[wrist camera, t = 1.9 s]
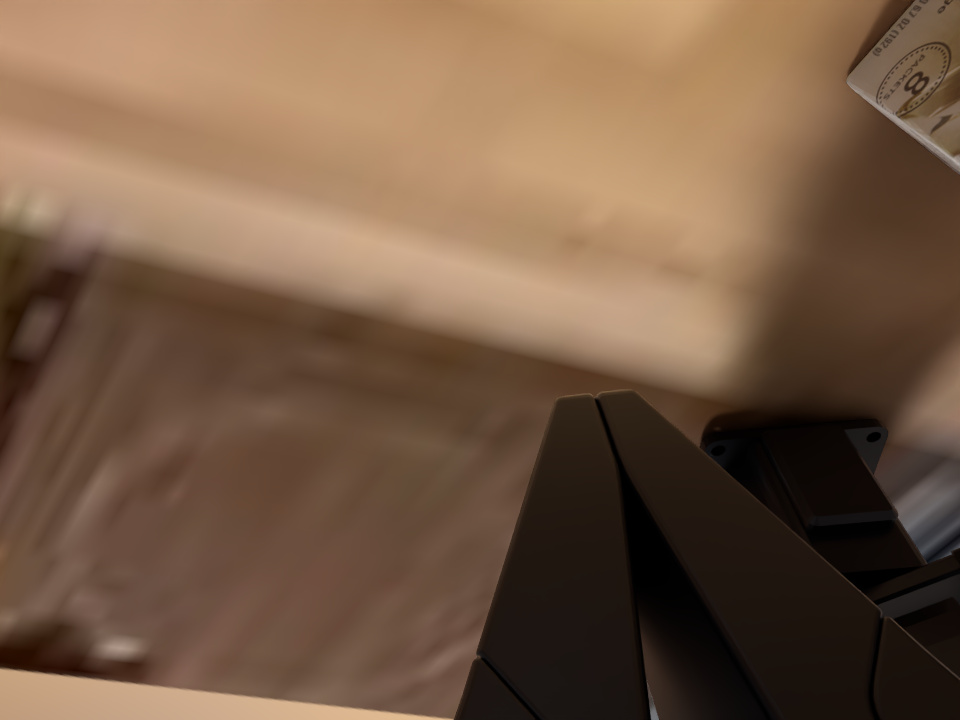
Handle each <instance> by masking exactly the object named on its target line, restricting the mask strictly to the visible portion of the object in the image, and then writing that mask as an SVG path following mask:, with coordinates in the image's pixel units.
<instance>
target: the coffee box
mask: <svg viewBox="0 0 960 720" xmlns="http://www.w3.org/2000/svg"><path fill="white" fill-rule="evenodd" d="M847 84H848V85H849V86H850V87H851V88H852V89H853V90H854V91H855V92H856V93H858V94H859V95H860V96H861V97H863V98H864V99H865V100H866V101H868V102H869V103H870V104H871V105H873V106H874V107H875V108H876V109H877V110H879V111H880V112H881V113H882V114H884V115H885V116H886V117H887V118H889V119H890V120H891V121H892V122H894V123H895V124H896V125H897V126H899V127H900V128H901V129H902V130H904V131H905V132H906V133H907V134H909V135H910V136H911V137H912V138H914V139H915V140H916V141H917V142H919V143H920V144H921V145H922V146H924V147H925V148H926V149H927V150H929V151H930V152H931V153H933V154H934V155H935V156H936V157H938V158H939V159H940V160H941V161H943V162H944V163H945V164H946V165H948V166H949V167H950V168H951V169H953V170H954V171H955V172H957V173H958V174H959V175H960V0H915V1H914V2H913V3H912V5H911V6H910V7H909V8H908V9H907V10H906V11H905V12H904V14H903V15H902V16H901V17H900V18H899V19H898V20H897V21H896V23H895V24H894V25H893V26H892V27H891V28H890V29H889V31H888V32H887V33H886V34H885V35H884V36H883V37H882V38H881V40H880V41H879V42H878V43H877V44H876V45H875V46H874V48H873V49H872V50H871V51H870V52H869V53H868V54H867V55H866V57H865V58H864V59H863V60H862V61H861V62H860V63H859V64H858V65H857V67H856V68H855V69H854V70H853V71H852V72H851V73H850V74H849V76H848V77H847Z"/></svg>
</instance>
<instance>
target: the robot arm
mask: <svg viewBox="0 0 960 720" xmlns="http://www.w3.org/2000/svg"><path fill="white" fill-rule="evenodd" d="M887 437H888V431H887V429H886V428H885V426H884V425H883V424H882V422H881V421H879V420H877V419H867V420H856V421H844V422H833V423H821V424H810V425H798V426H787V427H775V428H764V429H752V430H741V431H729V432H718V433H713V434H710V435H708V436H706V437H705V438H704V439H703V441H702V443H701V448H699V447H698V446H697V445H696V444H695V443H694V442H693V441H692V440H691V439H689V438H688V437H687V436H686V435H685V434H684V433H683V432H682V431H680V430H679V429H678V428H677V427H676V426H675V425H674V424H673V423H671V422H670V421H669V420H668V419H667V418H666V417H665V416H664V415H662V414H661V413H660V412H659V411H658V410H657V409H656V408H655V407H654V406H652V405H651V404H650V403H649V402H648V401H647V400H646V399H645V398H643V397H642V396H641V395H640V394H639V393H638V392H636V391H634V390H632V389H623V390H614V391H605V392H600V393H598V394H597V395H596V397H594V396H593V395H591V394H588V393H586V394H577V395H568V396H560V397H558V398H557V399H556V400H555V402H554V404H553V408H552V411H551V414H550V417H549V421H548V424H547V427H546V430H545V433H544V437H543V440H542V443H541V446H540V449H539V453H538V456H537V459H536V462H535V465H534V469H533V472H532V475H531V478H530V482H529V485H528V488H527V491H526V494H525V498H524V501H523V504H522V507H521V510H520V514H519V517H518V520H517V523H516V526H515V530H514V533H513V536H512V539H511V543H510V546H509V549H508V552H507V555H506V559H505V562H504V565H503V568H502V571H501V575H500V578H499V581H498V584H497V587H496V591H495V594H494V597H493V600H492V604H491V607H490V610H489V613H488V616H487V620H486V623H485V626H484V629H483V632H482V636H481V639H480V642H479V645H478V648H477V652H476V655H477V659H475V660H474V661H473V663H472V666H471V669H470V672H469V676H468V679H467V682H466V685H465V688H464V692H463V695H462V698H461V701H460V704H459V707H458V709H457V712H456V715H455V718H454V720H651V715H650V707H649V698H648V690H647V683H648V686H649V690H650V693H651V696H652V699H653V702H654V705H655V709H656V712H657V715H658V718H659V720H960V548H958V549H956V550H953V551H951V553H952V555H949V556H947V557H944V558H942V559H939V560H936V561H934V562H931V563H929V564H927V562H926V561H925V559H924V558H923V556H922V555H921V553H920V551H919V550H918V548H917V547H916V545H915V544H914V542H913V541H912V539H911V538H910V536H909V534H908V533H907V531H906V530H905V528H904V527H903V525H902V524H901V522H900V520H899V519H898V512H897V510H896V509H895V507H894V506H893V504H892V502H891V501H890V499H889V498H888V496H887V495H886V493H885V492H884V490H883V489H882V487H881V486H880V484H879V482H878V481H877V479H876V478H875V476H874V472H875V469H876V467H877V464H878V461H879V459H880V456H881V453H882V450H883V448H884V445H885V442H886V440H887ZM719 445H720V446H719ZM715 446H719V447H716V448H714V447H715ZM646 680H647V681H646Z"/></svg>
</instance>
